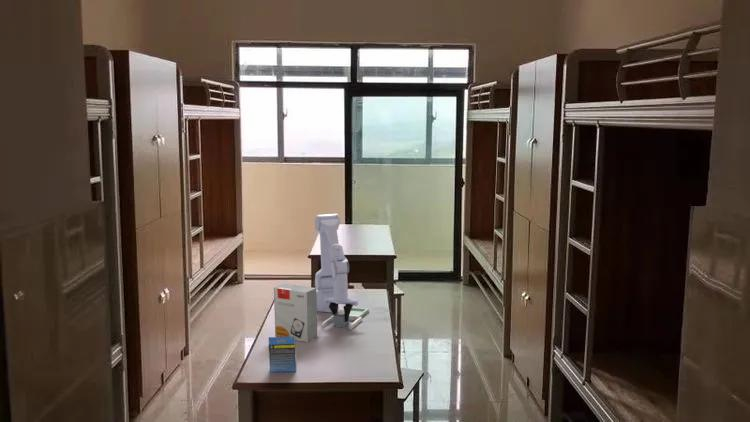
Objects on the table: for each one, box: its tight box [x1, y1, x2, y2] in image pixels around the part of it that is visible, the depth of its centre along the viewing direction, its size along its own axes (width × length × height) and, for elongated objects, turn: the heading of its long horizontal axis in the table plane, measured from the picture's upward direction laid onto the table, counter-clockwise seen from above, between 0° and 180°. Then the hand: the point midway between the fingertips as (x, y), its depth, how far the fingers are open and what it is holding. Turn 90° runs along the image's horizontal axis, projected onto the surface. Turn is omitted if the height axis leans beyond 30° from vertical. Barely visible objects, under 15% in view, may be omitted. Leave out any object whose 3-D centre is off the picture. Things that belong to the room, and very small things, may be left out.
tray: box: [349, 306, 370, 318], centre depth 286 cm, size 10×12×2 cm
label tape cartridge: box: [268, 336, 297, 373], centre depth 222 cm, size 9×4×12 cm, turn 92°
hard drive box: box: [273, 283, 318, 343], centre depth 256 cm, size 16×8×20 cm, turn 62°
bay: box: [321, 314, 363, 330], centre depth 274 cm, size 13×12×2 cm
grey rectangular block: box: [333, 309, 350, 328], centre depth 272 cm, size 4×7×5 cm, turn 161°
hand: (341, 320), depth 273 cm, fingers closed on grey rectangular block, 4 cm apart
